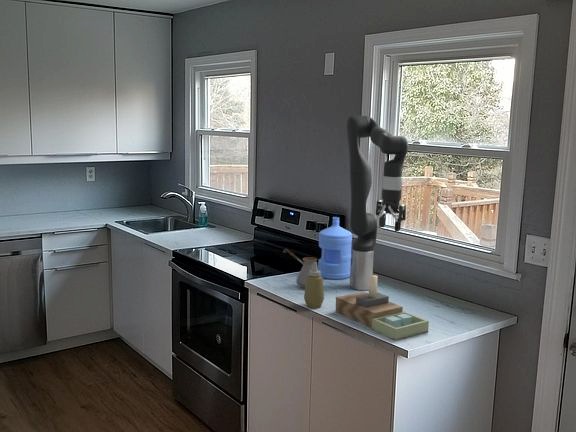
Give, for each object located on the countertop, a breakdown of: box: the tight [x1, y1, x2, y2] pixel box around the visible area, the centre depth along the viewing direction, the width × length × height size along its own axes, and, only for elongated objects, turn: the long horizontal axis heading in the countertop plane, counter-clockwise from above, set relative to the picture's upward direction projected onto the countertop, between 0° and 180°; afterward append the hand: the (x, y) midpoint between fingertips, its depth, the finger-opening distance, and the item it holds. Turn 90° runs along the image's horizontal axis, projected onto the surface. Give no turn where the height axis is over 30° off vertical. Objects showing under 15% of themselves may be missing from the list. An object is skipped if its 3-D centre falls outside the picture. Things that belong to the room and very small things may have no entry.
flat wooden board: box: [334, 291, 404, 329], centre depth 227 cm, size 22×14×6 cm, turn 34°
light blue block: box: [396, 314, 412, 327], centre depth 216 cm, size 4×4×4 cm
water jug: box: [317, 216, 353, 280], centre depth 283 cm, size 16×16×28 cm
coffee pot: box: [282, 248, 318, 290], centre depth 267 cm, size 21×12×15 cm, turn 46°
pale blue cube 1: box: [385, 316, 401, 328], centre depth 213 cm, size 4×4×4 cm
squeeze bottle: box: [303, 261, 325, 309], centre depth 237 cm, size 8×8×18 cm
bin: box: [371, 311, 430, 341], centre depth 213 cm, size 12×16×4 cm
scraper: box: [356, 274, 390, 308], centre depth 224 cm, size 6×11×10 cm, turn 126°
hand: (389, 229), depth 234 cm, fingers open, 8 cm apart
